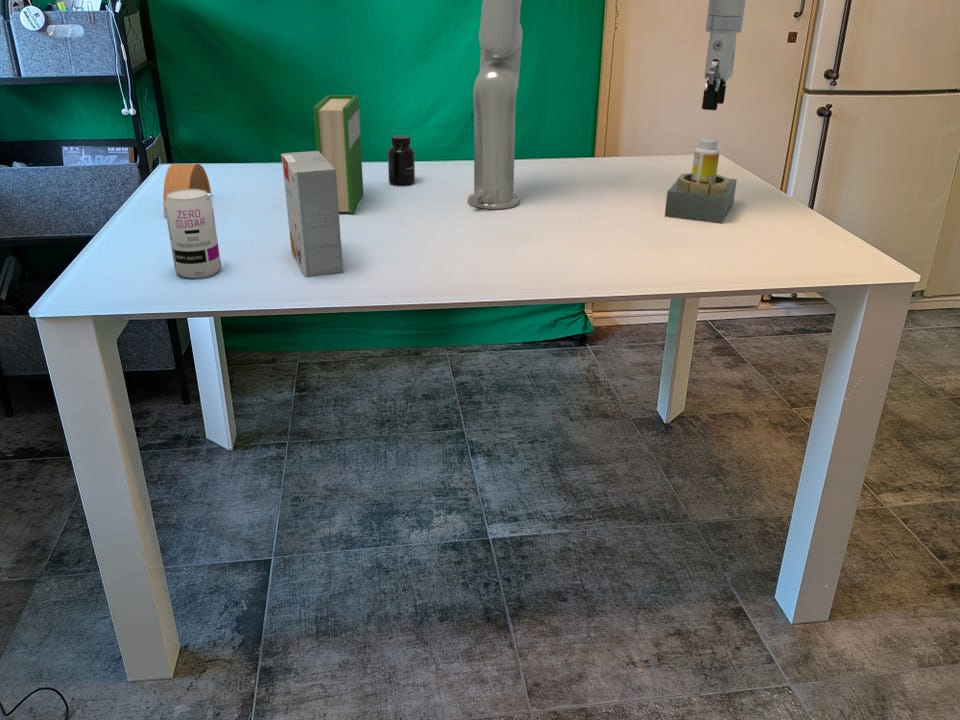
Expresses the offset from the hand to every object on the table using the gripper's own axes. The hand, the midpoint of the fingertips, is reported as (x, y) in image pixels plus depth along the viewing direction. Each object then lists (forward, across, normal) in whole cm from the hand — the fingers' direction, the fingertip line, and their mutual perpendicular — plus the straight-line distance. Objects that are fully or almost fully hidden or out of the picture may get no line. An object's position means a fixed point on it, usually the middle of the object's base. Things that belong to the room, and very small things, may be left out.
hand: (712, 106), depth 184 cm
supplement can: (+25, -83, +79) cm, 117 cm away
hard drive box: (+25, -69, +62) cm, 96 cm away
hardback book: (+25, -32, +79) cm, 88 cm away
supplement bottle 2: (+18, 0, 0) cm, 18 cm away
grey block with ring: (+24, +2, 0) cm, 24 cm away
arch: (+25, -49, +111) cm, 124 cm away
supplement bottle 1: (+25, -8, +76) cm, 80 cm away
